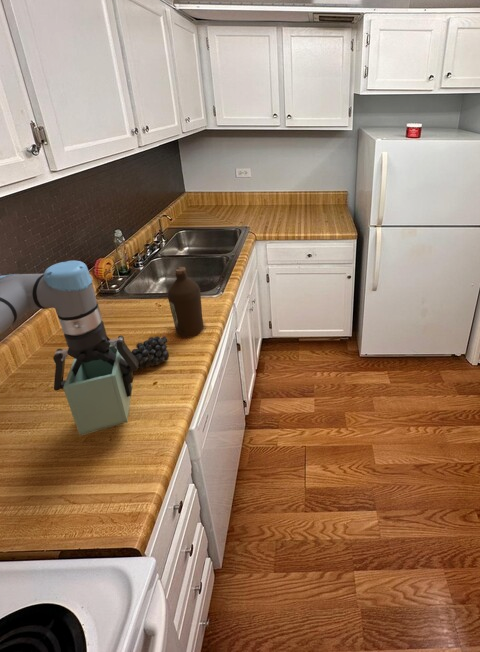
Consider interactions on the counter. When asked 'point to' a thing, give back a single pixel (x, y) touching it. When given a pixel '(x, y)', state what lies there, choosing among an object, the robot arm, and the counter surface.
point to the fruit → (151, 352)
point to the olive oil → (185, 305)
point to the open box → (97, 395)
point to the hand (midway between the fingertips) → (105, 398)
